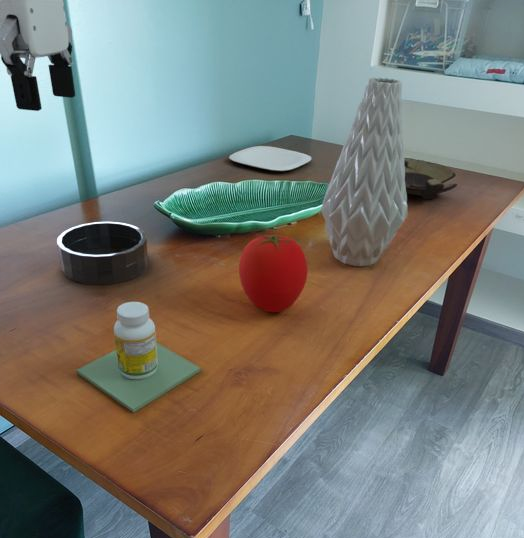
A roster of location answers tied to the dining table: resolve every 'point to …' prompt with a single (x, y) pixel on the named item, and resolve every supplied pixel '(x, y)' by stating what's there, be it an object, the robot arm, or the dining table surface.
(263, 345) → the dining table surface
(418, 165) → the oil lamp
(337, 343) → the dining table surface
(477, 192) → the dining table surface
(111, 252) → the pan
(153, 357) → the supplement bottle
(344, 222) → the vase
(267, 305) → the tomato
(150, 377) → the mat
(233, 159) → the plate
